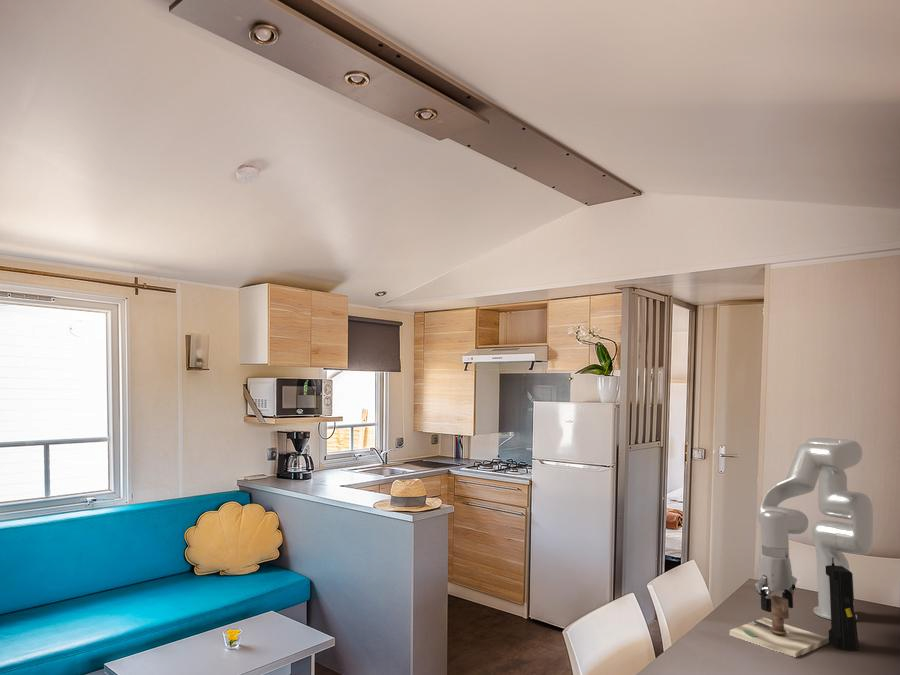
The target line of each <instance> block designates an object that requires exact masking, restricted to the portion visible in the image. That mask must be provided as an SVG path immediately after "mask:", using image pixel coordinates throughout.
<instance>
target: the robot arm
mask: <svg viewBox="0 0 900 675" xmlns="http://www.w3.org/2000/svg"><path fill="white" fill-rule="evenodd" d="M862 458H863V450H862V447H861V445H860V443H859V442H858V441H856V440H852V439H845V438H844V439H842V438H830V437H829V438H828V437H813V438H809V439H807V440H806V441H805V443H803V444H801V445H799V446H798V447H797V449H796V451H795V454H794V457H793V459H792V462H791V464H790V467H789V470H788V473H787V476H786V477H785V478H784V479H783V480H781V481H779V482H777V483H776V484H774V486H772V487H771V488H770V489H769V490H768V491H766V492H765V494H764V496H763V498H762V501H761V503H760V506H759V508H758V512H757V519H758V522H759V525H760V534H761V536H760V537H761V541H760V542H761V555H760V556H759V557H760V558H759V564H758V578H757V580H758V581H756V583H755V584H754V586H755V588H756V592H757V594H758V595H759V597H760V609H761V610H762V611H764V612H766V613H767V612H771V611H772V608H771V599H770V596H771V594H773V593H774V592H779V591H782V592H781V595H782V596H781V597H782V598H785V599H788V609H794V599H793V598H794V596H793V595H794V594H795V589H796V586H797V585H796V584H797V581H798V579H797V577H795V576H793V571H792V570H793V569H792V564H791V558H790V546H789V544H790V542H789V541H790V540H789V535H800V534H804V533H805V532H806V530H808V528H809V519H808V517H807V515H806V513H804V512H803V511H800V510H797V509H792V508H787V507H782V506H779V505H780V504H781V503H783V502H784V501H786V500H788V499H791V498H795V497H799V496H803V495H807V494H809V493H811V492H813V491H814V490H815V488H816V486H817V485H818V486H817V487H818V488H817V489H818V490H817V491H818V493H817V494H818V495H817V497H818V498H817V499H818V500H817V506H818V510H819V512H820V513H821V514H822V515H825V516H828V517H832V518H838V519H844V520H850V521H852V523H846V522H842V521H837V520H836V521H835V520H830V519H823V520H822V519H821V520H817V521H815V523H814V524H813V525H812V529H811V535H812V540H813V543H814V547H815V553H816V573H817V574H816V575H817V578H816V579H817V595H818V596H817V599H818V601H817V602H818V605H817V606H815V607H813V613H814V614H815V615H817V616H818V617H821V618H823V619H827V620H830V621H831V605H830V583H829V576H828V575H826V567H825V566H828V565H832V559H833V560H834V565H835V566H843V567H844V568H846V569H847V570H849V571H850V564H849V561H848V559H847V557H846V555H845V554H844V553H848V554H854V555H859V556H866V555H868V554H869V553H870V552H871V551H872V548H873V538H874V536H873V528H874V526H873V525H874V524H873V523H874V522H873V520H874V518H873V516H874V512H873V503H872V500H871V499H870V497H869V496H868V495H867V494H865V493H863V492H859V491H853V490H851V491H850V490H848V476H847V473H846V471H845V470H847V469H850V468H853V467H855V466H857V465H858V464H859V463H860V462H861V460H862ZM817 483H818V484H817ZM843 552H844V553H843ZM766 591H767V592H766ZM853 604H854V605H855V602H854V601H853ZM857 620H858V615H857V614H856V621H857Z"/></svg>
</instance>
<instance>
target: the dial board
mask: <svg viewBox="0 0 900 675" xmlns="http://www.w3.org/2000/svg"><path fill="white" fill-rule="evenodd" d="M754 621H758V622H761V623H763V624H766V625H768V626H771V627H772V619H769V618H767V617H762V618H759V619H755V620H753V621H751V622H748V623H745V624H743V625H739V626H737V627H734V628H732V629H729V636H731V637H734V638H737V639H740V640H742V641H746V642H747V643H748V642H749V643H750V642H751V644H753V643H754V645H756V644H757V645H756V646H759V645H760V647H763V648H765V649H767V650H772V651H773V650H774V652H776V651H777V652H776V653H779V652H781V653H780V654H782V653H784V654H783V655H785V654H786V655H785V656H788V655H789V656H788V657H791V656H793V657H792V658H794V657H797V658H798V656H799V657H801V656H803V655H805V653H806V654H807V653H810V652H812V651H814V650H816V649H818V648H821V647H823V646H824V645H828V644H829V643H830V641H829V636H824V635H821V634H818V633H815V632H812V631H808V630H806V629H802V628H798V627H794V626H792V625H789V624H786V623H784V629H785V630H786V634H784V635H778V634H774V633H772V632H771V631H770V629H769V628H766V627H763V626H761V625H758V624H756V623H754ZM800 655H801V656H800Z"/></svg>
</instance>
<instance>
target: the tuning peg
mask: <svg viewBox="0 0 900 675" xmlns="http://www.w3.org/2000/svg"><path fill="white" fill-rule="evenodd" d="M770 599H771V608H772V611H771V612H767V611H766V614H770V615H771V620H772V627H771V626H768V625H766V624H763V623H761V622H758V621H756V620H753V621H754V623H756V624H758V625H761V626H763V627H766V628H769V629H770V631H771V632H772V633H774V634H778V635H784V634H786V630H785V629H784V624H785V620H787V619H789V616H790V615H789V614H790V613H789V607H788V599H785V598H782V596H778V595H776V594H773V593H772V594H771V596H770Z"/></svg>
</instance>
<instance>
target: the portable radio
mask: <svg viewBox="0 0 900 675" xmlns="http://www.w3.org/2000/svg"><path fill="white" fill-rule="evenodd" d="M825 567H826V575H828V576H829V583H830V605H831V620H830V627H831V628H830V629H828V638H829V643H830V644H832V645H833V647H835V648H836V649H838V650H844V651H853V652H854V651H858V650H859V649H860V643H859V637H858V636H859V635H858V628H857V620H856V615H857V614H856V612H855V609H854V608H855V606H854V605H855V603H854V604H853V602H854V600H855V595H854V581H853V580H854V576H853V573H852V571H850V569H849V570H847V569H846V568H844V567H843V566H835V565H834V560H833V559H832V565H828V566H825Z"/></svg>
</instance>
